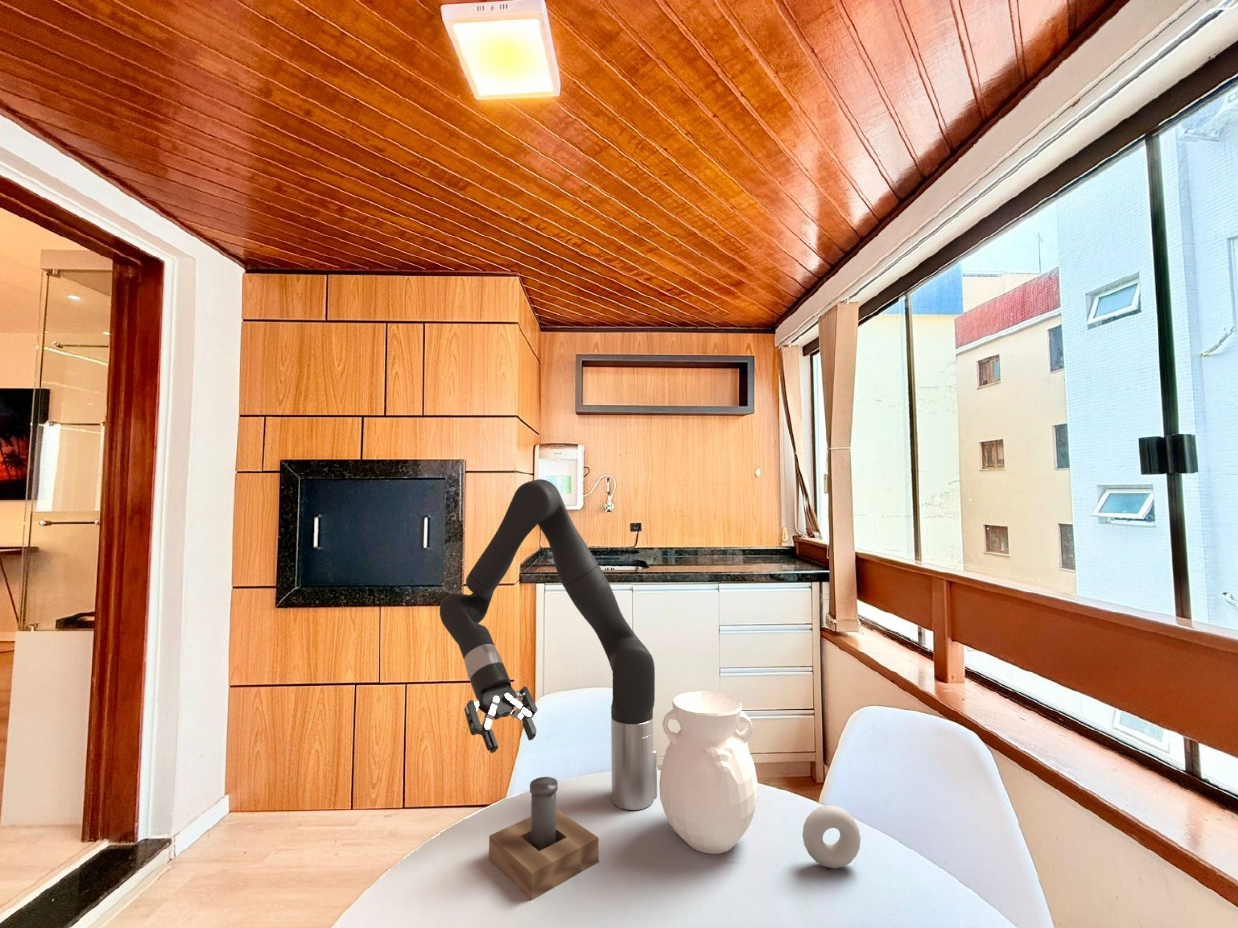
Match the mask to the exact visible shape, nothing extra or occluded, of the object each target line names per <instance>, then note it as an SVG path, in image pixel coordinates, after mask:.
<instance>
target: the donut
mask: <svg viewBox="0 0 1238 928" xmlns="http://www.w3.org/2000/svg"><path fill="white" fill-rule="evenodd" d="M802 827H803V829H802V839H803V841H802V842H803V845H804V847H805V850H806V851H807V853H808V855H809V856H810V857H811V858H812V859H813V860H814V861H815V863H817V864H819V865H821V866H823V867H825V868H829V869H839V868H844V867H846V866H848V865H849V864H851V863H852V862H853V860H855V859H856V857H857V855H858V853H859V851H860V849H861V848H860V847H861V840H862V839H861V832H860V829H859V826H858V823H857V822H856V820H855V818H854V817H853V816H851V814H850V813H849V812H848V811H846V810H845V809H843V808H841V807H839V806H835V805H831V804H830V805H829V804H827V805H821V806H819V807H816V808H815V809H813V810H812V811H811V812H810V813H809V815H807V817H806V818H805V821H804V823H803V826H802ZM829 829H836V830H837V831H839V838H838V840H836V842H834V843H832V844H827V843H825V841H824V840H823V837H824V834H825V833H826V832H827V831H828V830H829Z"/></svg>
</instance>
